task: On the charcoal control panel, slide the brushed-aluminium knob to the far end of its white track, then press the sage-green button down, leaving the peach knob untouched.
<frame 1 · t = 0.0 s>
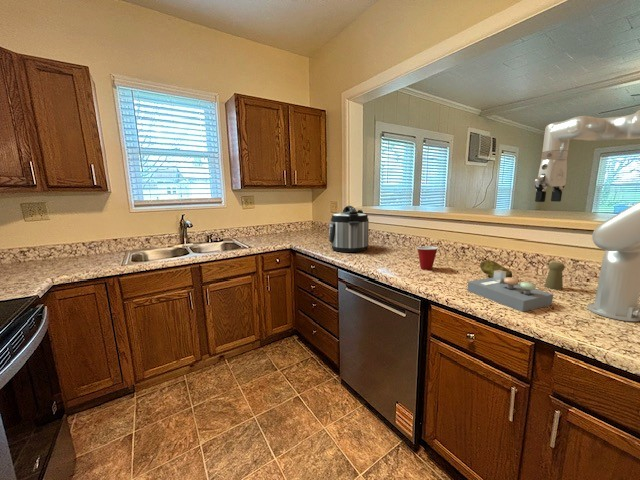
hand: (547, 201, 106), 37 cm above the worktop, tool pointing down, fingers open, 9 cm apart
sage button: (527, 289, 98), point 5 cm above the worktop, slide at 0.0 cm
potato: (494, 278, 129), on the worktop
panel: (506, 297, 105), on the worktop
plastic cup: (425, 268, 146), on the worktop
peach knob: (510, 284, 103), point 5 cm above the worktop, slide at 0.0 cm
slider knob: (499, 275, 111), point 7 cm above the worktop, slide at 0.0 cm
cork: (553, 288, 115), on the worktop
pressure cooker: (348, 249, 196), on the worktop
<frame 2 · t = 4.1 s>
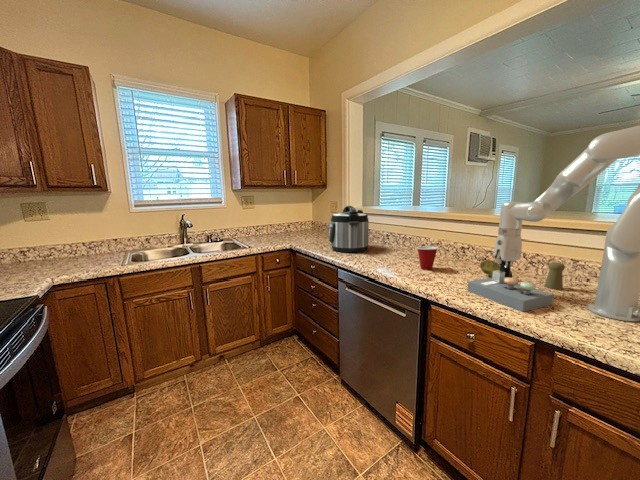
hand: (504, 275, 112), 6 cm above the worktop, tool pointing down, fingers closed
slider knob: (498, 276, 111), point 7 cm above the worktop, slide at 0.7 cm, touching gripper
everything else where it was.
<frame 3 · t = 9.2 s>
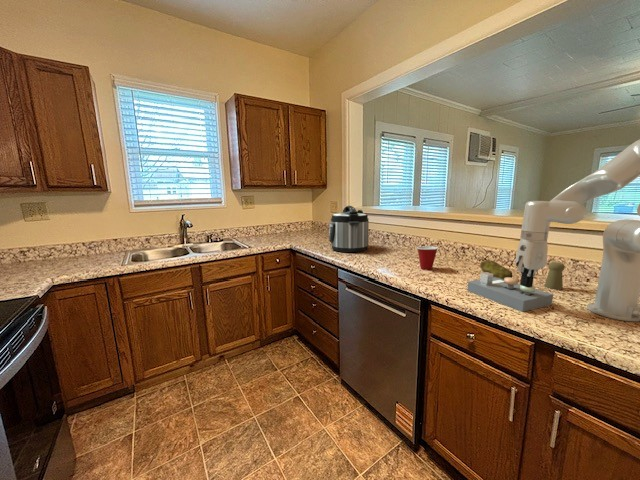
hand: (525, 285, 98), 7 cm above the worktop, tool pointing down, fingers closed
sage button: (527, 292, 98), point 5 cm above the worktop, slide at 0.9 cm, touching gripper
slider knob: (486, 278, 108), point 6 cm above the worktop, slide at 7.5 cm
everything else where it was.
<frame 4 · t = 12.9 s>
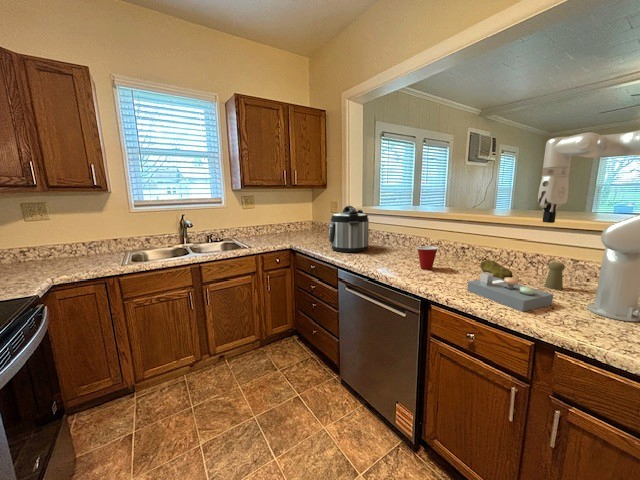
hand: (548, 222, 102), 29 cm above the worktop, tool pointing down, fingers closed
sage button: (526, 294, 98), point 4 cm above the worktop, slide at 1.8 cm
everything else where it was.
at the end: slider knob slide at 7.5 cm; sage button slide at 1.8 cm; peach knob slide at 0.0 cm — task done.
